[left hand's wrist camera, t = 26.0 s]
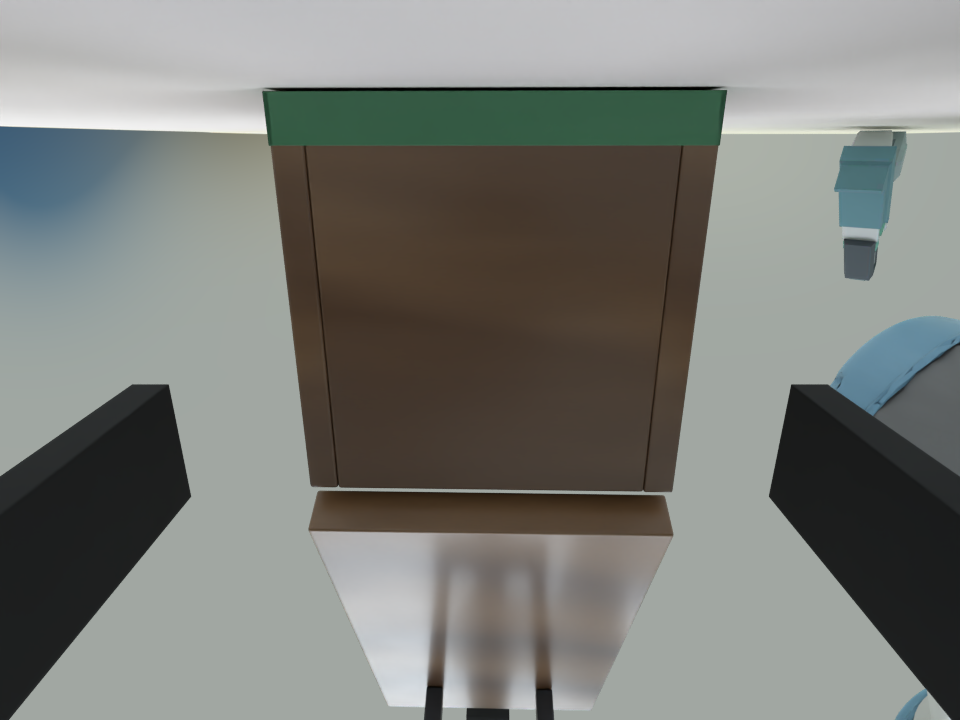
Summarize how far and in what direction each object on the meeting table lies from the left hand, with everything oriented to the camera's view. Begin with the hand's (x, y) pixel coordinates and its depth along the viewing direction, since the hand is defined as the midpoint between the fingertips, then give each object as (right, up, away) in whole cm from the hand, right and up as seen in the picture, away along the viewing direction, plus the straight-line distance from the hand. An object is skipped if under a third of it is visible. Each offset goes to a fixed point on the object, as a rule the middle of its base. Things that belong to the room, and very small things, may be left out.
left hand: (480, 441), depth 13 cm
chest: (0, +10, +7) cm, 12 cm away
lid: (0, -8, +10) cm, 12 cm away
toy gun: (+34, +21, +36) cm, 53 cm away
